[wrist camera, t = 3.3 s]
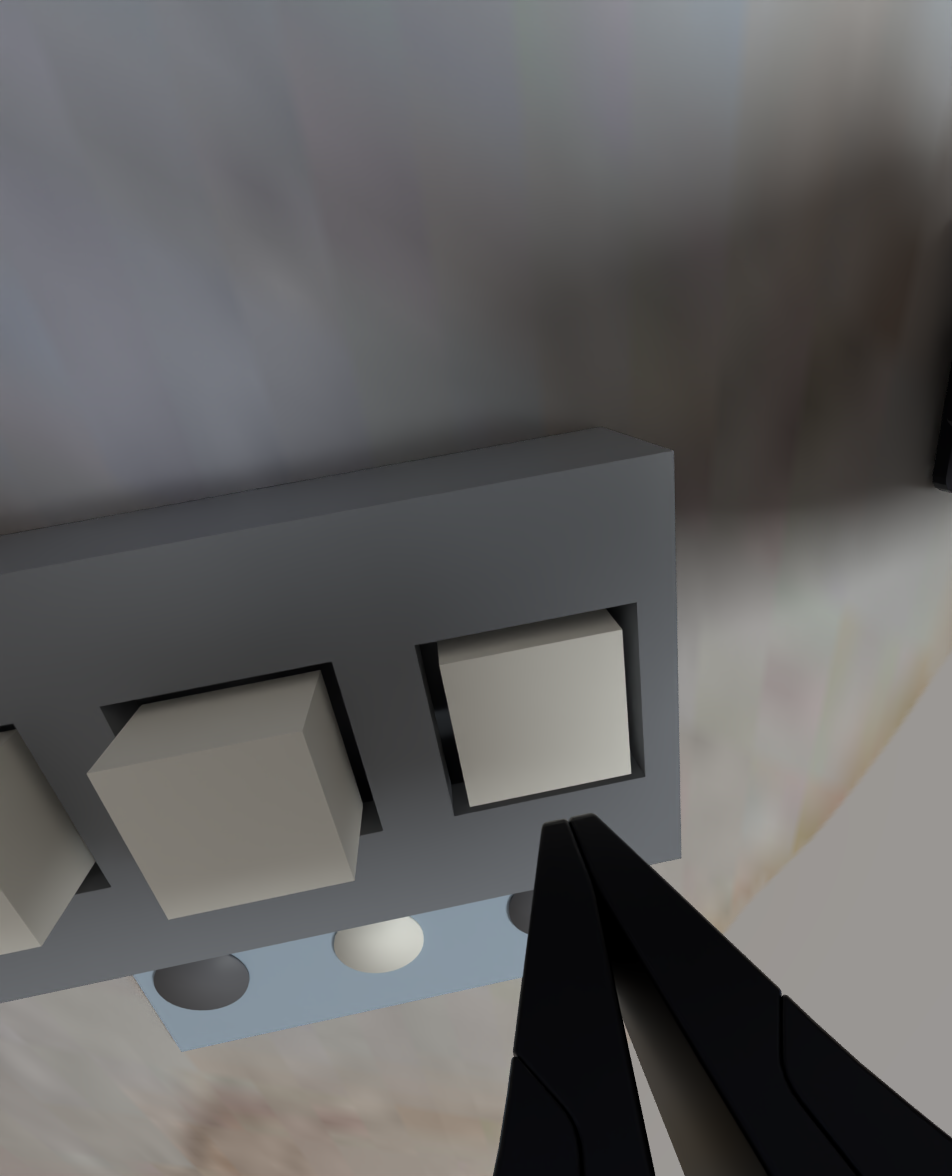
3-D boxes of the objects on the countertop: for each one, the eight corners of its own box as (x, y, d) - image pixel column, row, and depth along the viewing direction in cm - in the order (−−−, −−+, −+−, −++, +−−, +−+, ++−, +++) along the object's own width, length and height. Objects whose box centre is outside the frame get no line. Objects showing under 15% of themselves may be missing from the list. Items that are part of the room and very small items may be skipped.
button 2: (590, 590, 12) (622, 629, 11) (602, 719, 14) (631, 773, 12) (435, 620, 12) (439, 665, 10) (462, 747, 14) (470, 807, 12)
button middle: (320, 669, 11) (301, 730, 9) (362, 804, 12) (354, 880, 11) (141, 704, 11) (86, 773, 9) (204, 836, 12) (168, 919, 10)
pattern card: (597, 806, 18) (602, 818, 17) (610, 946, 21) (615, 959, 20) (105, 909, 17) (96, 924, 17) (186, 1038, 20) (180, 1054, 20)
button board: (601, 426, 13) (673, 450, 10) (623, 752, 17) (681, 858, 14) (-158, 564, 13) (-394, 646, 9) (43, 870, 17) (-63, 1016, 13)
